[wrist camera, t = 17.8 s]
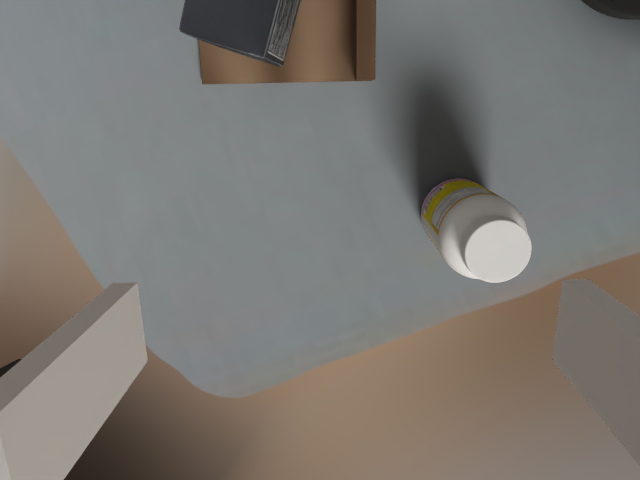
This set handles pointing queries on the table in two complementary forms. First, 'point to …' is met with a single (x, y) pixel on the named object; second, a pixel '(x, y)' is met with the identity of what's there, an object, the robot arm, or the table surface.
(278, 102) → the table surface
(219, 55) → the corner tray
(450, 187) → the supplement bottle
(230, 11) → the small box
